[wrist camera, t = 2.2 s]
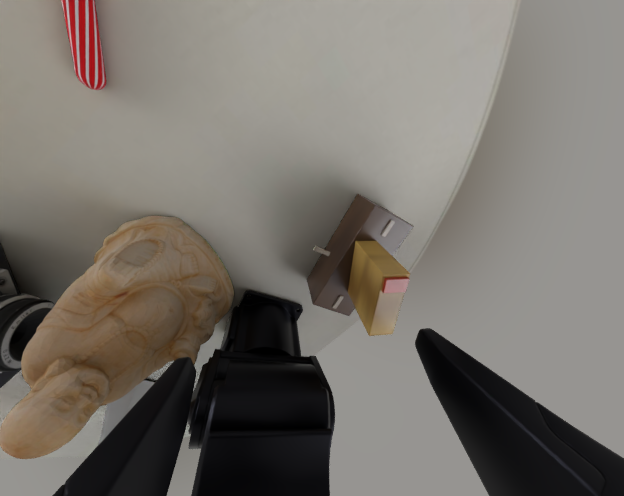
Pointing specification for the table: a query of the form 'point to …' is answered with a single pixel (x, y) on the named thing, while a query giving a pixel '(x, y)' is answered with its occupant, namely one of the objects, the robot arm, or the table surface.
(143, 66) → the table surface
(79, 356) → the statue
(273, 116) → the table surface
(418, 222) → the table surface
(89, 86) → the candy cane
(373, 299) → the tan flat block
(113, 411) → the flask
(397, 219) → the miniature drawer cabinet
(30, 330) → the camera
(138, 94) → the table surface
